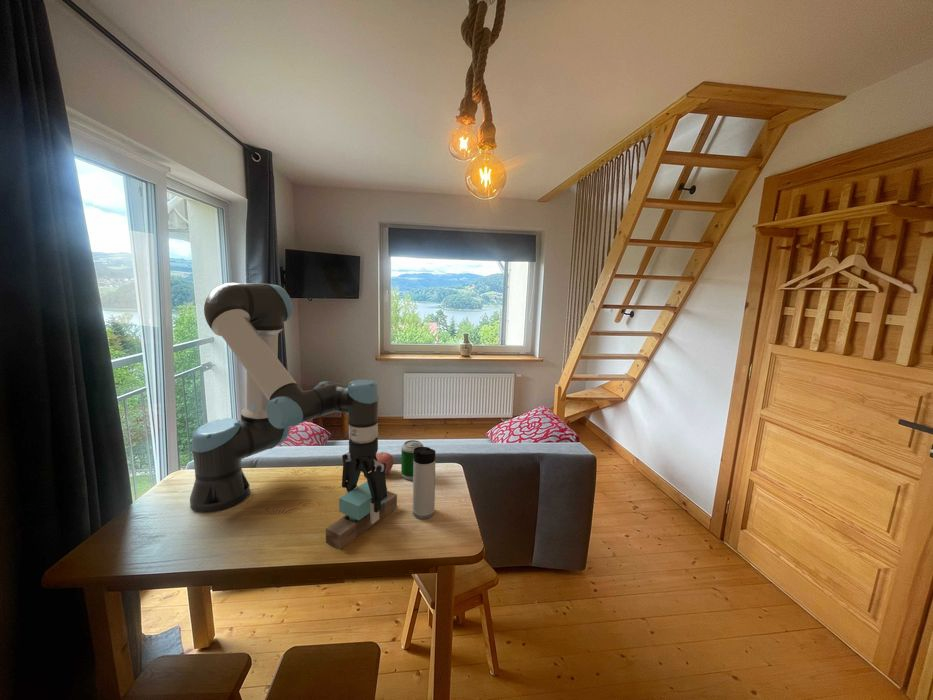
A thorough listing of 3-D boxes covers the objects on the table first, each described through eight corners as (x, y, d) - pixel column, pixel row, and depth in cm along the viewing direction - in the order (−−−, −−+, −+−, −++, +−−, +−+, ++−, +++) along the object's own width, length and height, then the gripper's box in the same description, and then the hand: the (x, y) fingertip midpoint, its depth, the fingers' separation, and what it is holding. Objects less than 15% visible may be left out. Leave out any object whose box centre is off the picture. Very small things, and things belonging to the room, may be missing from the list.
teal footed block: (339, 523, 101) (339, 498, 99) (368, 504, 110) (368, 480, 109) (358, 532, 97) (358, 506, 96) (387, 511, 107) (387, 487, 106)
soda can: (418, 482, 127) (419, 449, 125) (397, 479, 128) (398, 446, 126) (425, 472, 134) (426, 440, 132) (405, 469, 136) (406, 438, 134)
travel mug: (407, 513, 110) (408, 448, 106) (424, 504, 114) (425, 442, 111) (421, 522, 105) (422, 455, 102) (438, 513, 110) (440, 448, 107)
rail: (326, 542, 96) (325, 528, 95) (384, 501, 115) (384, 489, 114) (340, 549, 93) (339, 535, 93) (396, 506, 112) (397, 494, 112)
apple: (367, 475, 130) (367, 453, 129) (379, 466, 137) (379, 445, 136) (385, 480, 128) (385, 458, 126) (397, 471, 134) (397, 449, 133)
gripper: (326, 434, 102) (328, 512, 105) (382, 452, 92) (382, 536, 96) (347, 426, 108) (348, 499, 112) (402, 441, 99) (401, 521, 102)
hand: (364, 516), depth 104 cm, fingers closed on teal footed block, 7 cm apart
